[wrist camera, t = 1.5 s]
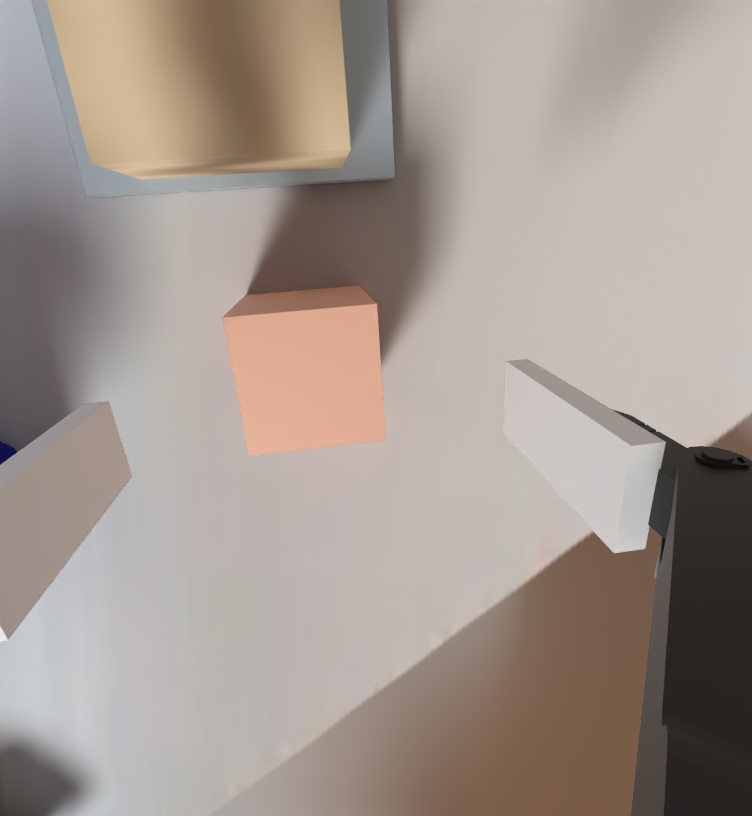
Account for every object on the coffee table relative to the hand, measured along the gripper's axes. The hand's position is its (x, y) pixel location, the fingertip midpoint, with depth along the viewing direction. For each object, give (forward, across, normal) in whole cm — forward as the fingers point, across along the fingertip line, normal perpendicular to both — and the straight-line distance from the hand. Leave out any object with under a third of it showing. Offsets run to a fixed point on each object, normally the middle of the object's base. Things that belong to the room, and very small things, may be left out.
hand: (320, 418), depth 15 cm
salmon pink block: (+11, 0, 0) cm, 11 cm away
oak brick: (+10, -2, +13) cm, 16 cm away
